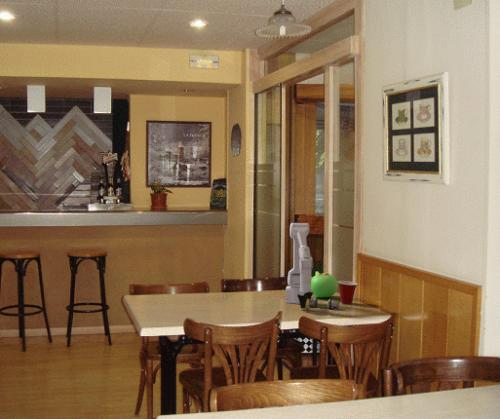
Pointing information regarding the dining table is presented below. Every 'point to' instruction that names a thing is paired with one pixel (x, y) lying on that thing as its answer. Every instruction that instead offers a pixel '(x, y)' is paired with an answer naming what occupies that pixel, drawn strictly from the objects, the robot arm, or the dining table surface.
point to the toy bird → (323, 285)
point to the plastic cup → (347, 291)
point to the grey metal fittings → (331, 304)
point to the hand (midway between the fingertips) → (304, 307)
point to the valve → (306, 306)
